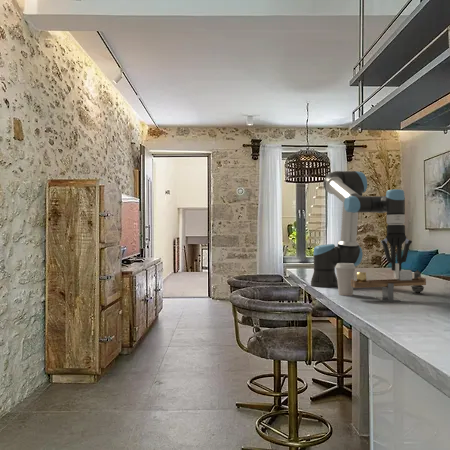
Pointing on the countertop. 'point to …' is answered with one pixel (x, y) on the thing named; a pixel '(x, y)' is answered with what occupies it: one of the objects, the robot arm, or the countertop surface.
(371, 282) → the wooden tray
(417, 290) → the salt shaker
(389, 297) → the fulcrum
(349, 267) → the coffee cup
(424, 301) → the countertop surface
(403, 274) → the block
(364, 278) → the cylinder
